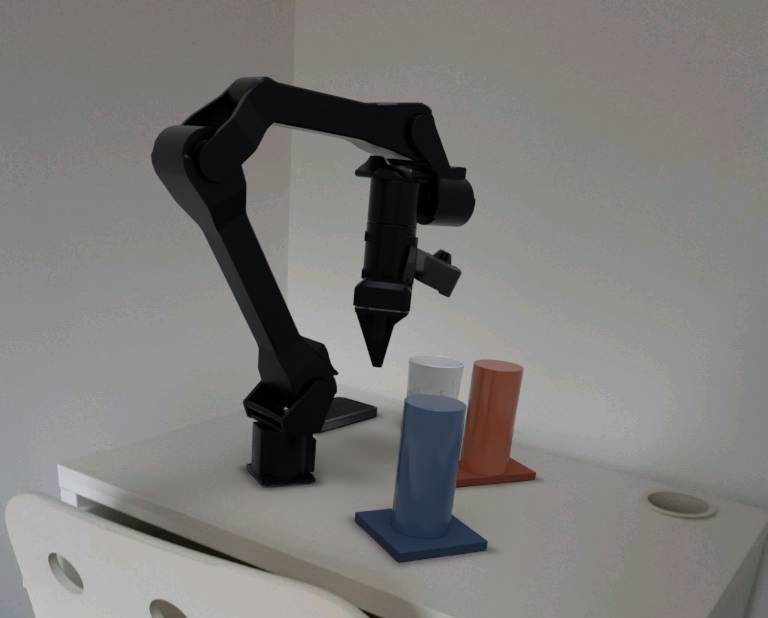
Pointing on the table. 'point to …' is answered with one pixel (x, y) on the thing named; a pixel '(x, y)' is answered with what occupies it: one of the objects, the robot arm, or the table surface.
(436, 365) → the white cup
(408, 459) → the blue cylinder
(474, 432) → the terracotta cylinder
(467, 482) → the terracotta mat
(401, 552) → the blue mat
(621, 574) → the table surface
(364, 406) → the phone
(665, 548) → the table surface
